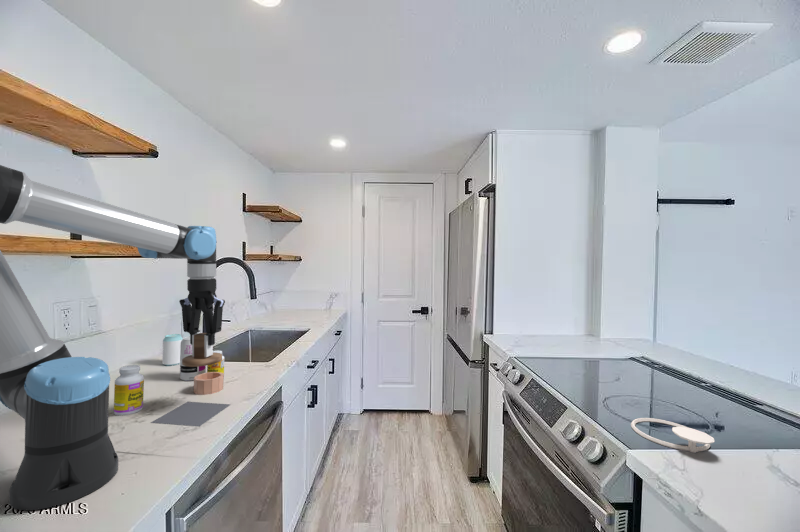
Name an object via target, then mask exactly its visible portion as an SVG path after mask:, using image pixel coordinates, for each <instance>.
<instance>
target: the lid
mask: <svg viewBox="0 0 800 532" xmlns="http://www.w3.org/2000/svg"><path fill="white" fill-rule="evenodd" d="M198 333H199V334H196V335H194V357H193V356H192V355H190V356H187V357H185V358H183V359H182V365H184V366H188V367H198V366H206V367H207V365H211V364H215V363H218V362H220V361H221V360H222V356H223V353H222V354H220V353H215V352H213V355H211V356H208V357H204V335H205V334H207V332H198Z"/></svg>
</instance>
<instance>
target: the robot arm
mask: <svg viewBox="0 0 800 532" xmlns="http://www.w3.org/2000/svg"><path fill="white" fill-rule="evenodd" d="M12 222H21V223H24V224H31V225H34V226H39V227H44V228H48V229H51V230H52V229H53V230H57V231H62V232H66V233H71V234H76V235H81V236H85V237H88V238H93V239H98V240H104V241H106V242H111V243H112V242H113V243H117V244H121V245H125V246H130V247H136V248H137V251H138V253H139V255H140V256H141V257H142V258H145V259H154V260H156V259H174V260H175V259H176V260H177V259H181V260H183V259H185V260H186V263H187V264H186V265H187V266H186V269H187V270H186V272H187V273H186V277H187V278H189V279H187V281H186V282H187V284H186V285H187V292H188V295H187V297H186V298H182V299H179V304H180V307H181V316H182V328H183V332H185V333H188V334H189V336H190V344H191V345H192V356H193V357H194V335H196V334H199V333H201V330H199V329H200V325H201V324H200V322H201V315H202V313H203V318H204V325H205V330H206V332H205V333H207V334H205V335H204V357H208V356H211V355H213V351H214V345H215V343H216V341H215V340H216V338H215V337H216V334H217V333H219V332H221V331H222V325H223V310H224V306H225V303H226V300H225V299H220V298H218V296H217V294H216V290H217V279H216V278H215V277H217V232H216V229H215V227H212V226H207V225H206V226H205V225H189V226H187V227H186V226H183V225H179V224H176V223H173V222H170V221H167V220H164V219H160V218H157V217H153V216H150V215H146V214H144V213H140V212H137V211H133V210H130V209H126V208H123V207H121V206H116V205H113V204H109V203H106V202H104V201H100V200H97V199H93V198H90V197H87V196H83V195H80V194H76V193H73V192H70V191H66V190H63V189H59V188H56V187H53V186H50V185H46V184H44V183H40V182H36V181H33V180H31V179H30V178H29V177H28V175H27V174H26V173H25V172H24V171H23V172H22V171H20V170H17V169H14V168H10V167H9V166H5V165H1V164H0V224H2V225H3V224H4V225H7V224H9V223H12ZM45 328H46V327H44V325H43V323H42V322H41V319H40V318H39V316H38V315H37V313H36V310H35V309H34V307H33V306H32V304H31V302H30V300H29V299H28V296H27V295H26V293H25V291H24V290H23V287H22V286H21V284H20V282H19V281H18V278H17V277H16V275H15V273H14V272H13V270H12V268H11V267H10V264H9V263H8V261H7V259H6V258H5V255H4V254H3V252H2V251H1V249H0V403H1V404H2V405H3V406H5V407H6V408H7V409H9V410H12V411H13V412H15V413H16V414H18V415H19V416H20V417H21V418H23V419H24V454H23V458H22V461H21V463H20V465H19V467H18V470H17V472H16V476H15V478H14V480H13V482H12V484H11V486H10V488H9V490H8V491H9V496H8V499H9V500H8V501H9V502H8V503H9V506H10V507H11V508H13V509H15V510H19V511H35V510H43V509H48V508H52V506H53V507H56V506H55V505H57V506H60V505H64V504H67V503H70V502H72V501H73V502H74V501H75V500H78V499H80V498H82V497H85V496H87V495H89V494H91V493H93V492H95V491H96V490H98V489H100V488H102V487H103V486H105V485H106V484H108V483H109V482H110V481H111V480H112V479H113V478H114V477H115V476H116V474H117V473H118V471H119V456H118V454H117V452H116V449H115V448H114V445H113V442H112V441H111V438H110V436H109V409H110V408H109V407H110V401H109V400H110V384H111V376H110V372H109V370H110V369H109V366H108V363H107V362H106V361H104V360H102V359H100V358H97V357H92V356H89V357H85V356H72V355H71V353H70V351H69V350H68V347H67V346H66V344H65V342H64V340H61V339H55V338H52V337H50V335H49V333H48V332H47V330H46V329H45Z"/></svg>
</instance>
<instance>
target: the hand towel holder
mask: <svg viewBox="0 0 800 532" xmlns="http://www.w3.org/2000/svg"><path fill="white" fill-rule="evenodd" d="M642 422H643V423H644V422H647V423H648V422H649V423H650V422H651V423H658V424H662V425H663V424H664V425H668V426H672V429H671V430H672V431H671V432H672V433H674V435H676V436H677V437H679V438H680V439H681V440H685V441H687V442H688V444H687V445H680V444H676V443H672V442H668V441H664V440H661V439H659V438H656V437H652V436H650V435H649V434H646V433H645V432H643V431H641V430H640V429H639V428H638V427H636V425H637V423H642ZM630 426H631V429H632V430H633V431H634V432H635V433H636V434H637V435H639V436H641V437H643V438H644V439H647V440H648V441H651V442H653V443H655V444H657V445H661V446H664V447H667V448H671V449H674V450H675V449H676V450H679V451H685V452H691V453H692V454H693V453H694V454H695V453H696V452H697V453H698V452H703V451H707V450H709V448H710V447H711V444H713V443H715V438H714V437H712V436H711V435H709V434H708V433H706V432H703V431H701V430H697V429H695V428H691V427H688V426H686V425H682V424H679V423H676V422H673V421H668V420H664V419H659V418H653V417H639V418H636V419H633V420H632V421H631V423H630ZM697 444H699V445H701V446H697Z"/></svg>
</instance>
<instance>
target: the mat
mask: <svg viewBox="0 0 800 532" xmlns="http://www.w3.org/2000/svg"><path fill="white" fill-rule="evenodd" d="M229 406H231V403H229V404H228V403H216V402H201V401H199V402H198V401H186V402H184V403H182V404H181V405H179V406H178V407H176V408H174V409H172V410H171V411H168V412H166V413H165V414H163V415H162V416H160V417H157V418H156V419H154V420H153V421H151V422H150V424H160V425H174V426H175V425H176V426H189V427H199V428H200V427H201V426H202V425H204V424H205V423H207V422H208V421H210V420H211V419H212V418H214V417H215V416H217V415H218V414H220V413H221V412H223V411H224V410H225V409H227V408H228V407H229Z"/></svg>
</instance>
